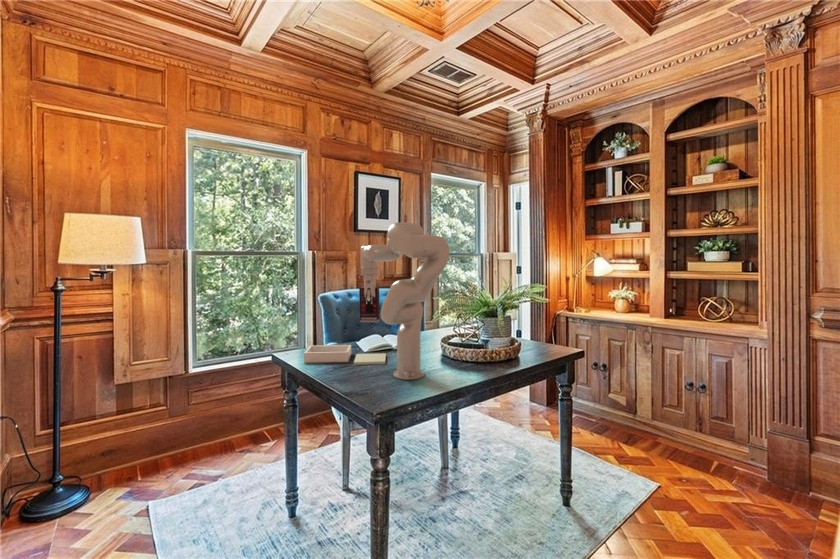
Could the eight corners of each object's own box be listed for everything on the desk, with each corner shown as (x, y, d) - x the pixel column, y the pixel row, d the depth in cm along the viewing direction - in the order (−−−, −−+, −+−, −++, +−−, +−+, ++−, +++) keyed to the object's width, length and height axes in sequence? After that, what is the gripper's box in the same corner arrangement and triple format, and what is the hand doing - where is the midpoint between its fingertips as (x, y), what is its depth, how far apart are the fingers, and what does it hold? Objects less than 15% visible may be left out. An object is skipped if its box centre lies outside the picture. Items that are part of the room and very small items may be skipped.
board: (385, 364, 183) (385, 361, 183) (353, 364, 183) (353, 362, 182) (385, 355, 197) (385, 353, 197) (356, 356, 196) (356, 353, 196)
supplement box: (380, 320, 191) (379, 286, 189) (378, 322, 186) (377, 287, 184) (362, 320, 191) (361, 286, 190) (359, 322, 187) (358, 287, 185)
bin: (348, 361, 187) (348, 352, 187) (304, 362, 186) (303, 352, 186) (351, 353, 201) (351, 344, 201) (310, 354, 200) (310, 345, 200)
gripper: (376, 273, 178) (377, 314, 180) (378, 271, 195) (378, 308, 197) (359, 273, 178) (360, 314, 179) (362, 271, 195) (362, 308, 196)
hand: (369, 311), depth 188 cm, fingers closed on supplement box, 5 cm apart
